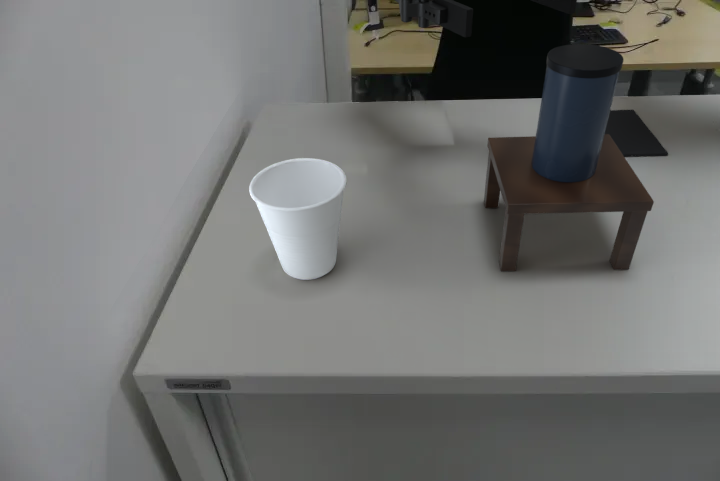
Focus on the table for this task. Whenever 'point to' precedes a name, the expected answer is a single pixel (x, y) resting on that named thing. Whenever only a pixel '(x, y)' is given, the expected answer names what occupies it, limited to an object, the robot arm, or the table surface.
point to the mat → (632, 135)
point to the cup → (301, 213)
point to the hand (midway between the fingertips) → (524, 11)
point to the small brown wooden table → (563, 195)
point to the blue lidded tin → (574, 110)
